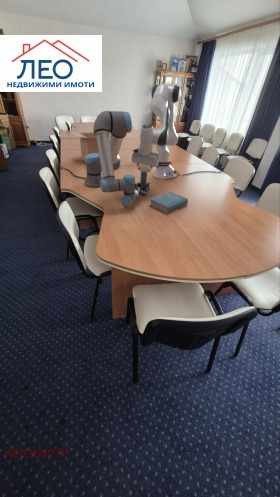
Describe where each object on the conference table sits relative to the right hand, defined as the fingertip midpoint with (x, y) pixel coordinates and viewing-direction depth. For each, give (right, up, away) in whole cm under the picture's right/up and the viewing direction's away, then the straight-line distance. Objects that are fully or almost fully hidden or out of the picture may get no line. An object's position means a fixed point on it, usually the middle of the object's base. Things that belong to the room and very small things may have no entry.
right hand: (144, 170), depth 163 cm
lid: (0, +2, -1) cm, 2 cm away
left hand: (+1, -6, +11) cm, 12 cm away
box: (-53, +36, +74) cm, 98 cm away
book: (+18, -27, -4) cm, 32 cm away
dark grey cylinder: (-1, -14, +11) cm, 18 cm away
